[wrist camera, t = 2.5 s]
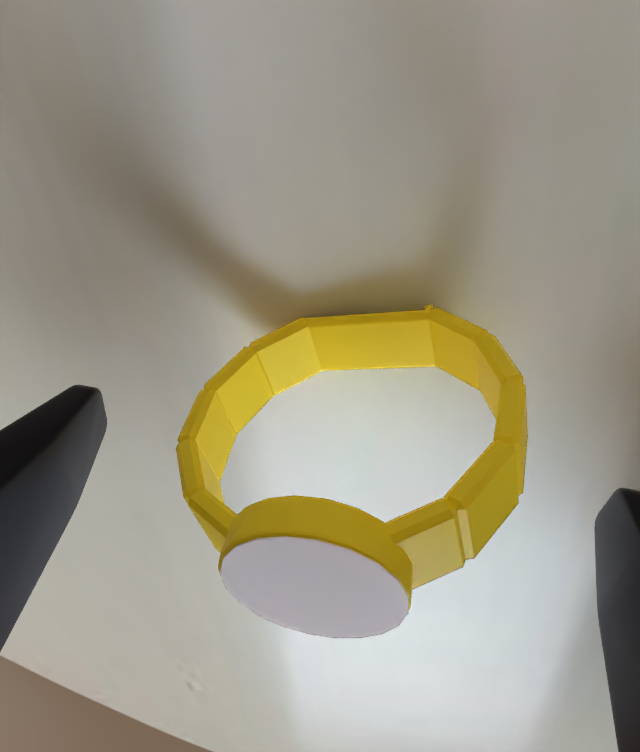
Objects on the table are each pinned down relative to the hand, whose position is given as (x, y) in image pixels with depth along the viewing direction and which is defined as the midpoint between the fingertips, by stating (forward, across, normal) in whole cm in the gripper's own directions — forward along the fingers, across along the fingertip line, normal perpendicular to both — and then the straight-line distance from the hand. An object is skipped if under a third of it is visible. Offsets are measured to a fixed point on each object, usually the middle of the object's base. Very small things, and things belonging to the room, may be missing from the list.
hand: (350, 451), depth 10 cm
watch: (+4, 0, 0) cm, 4 cm away
